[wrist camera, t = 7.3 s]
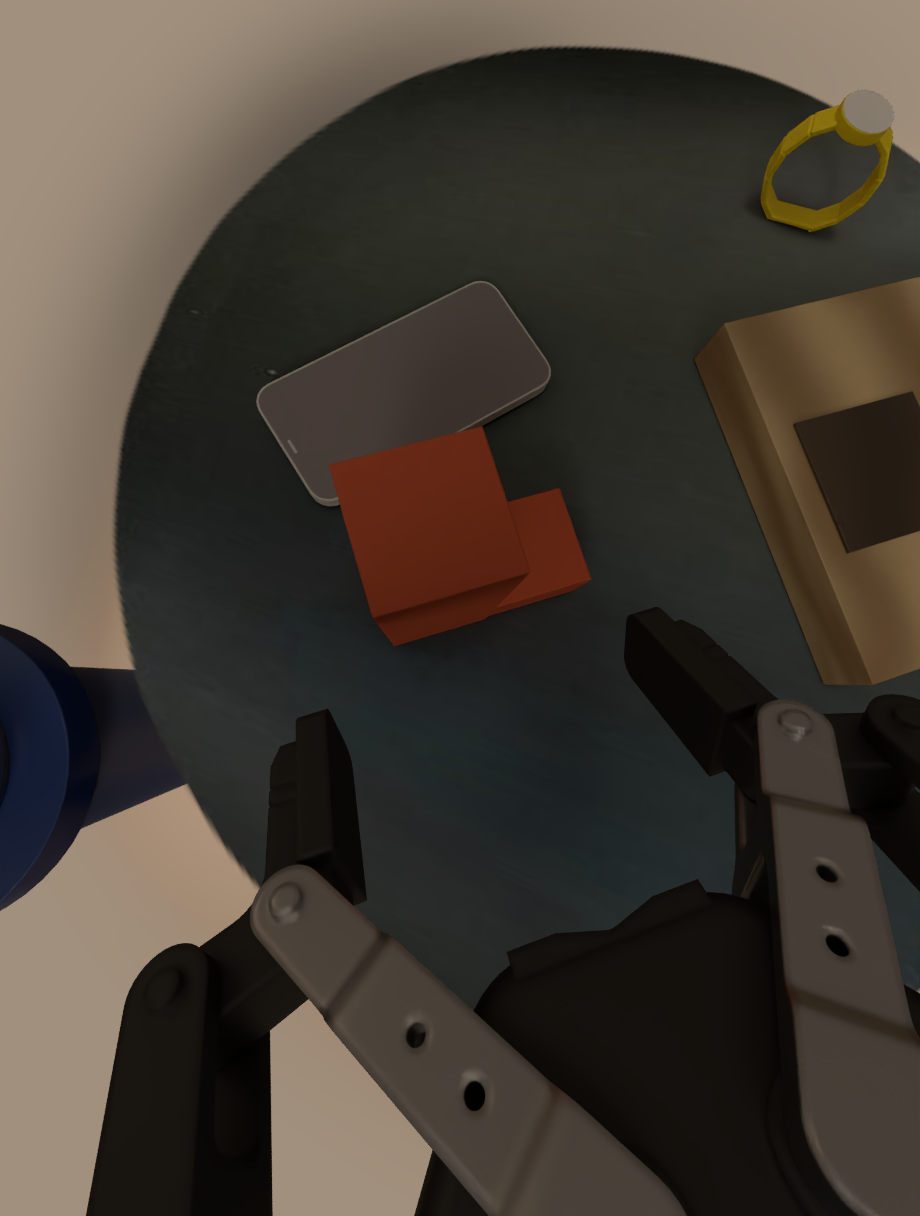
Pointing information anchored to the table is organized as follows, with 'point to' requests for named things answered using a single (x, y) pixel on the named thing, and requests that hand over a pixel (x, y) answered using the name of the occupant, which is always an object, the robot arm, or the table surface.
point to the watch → (856, 123)
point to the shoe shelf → (833, 466)
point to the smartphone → (405, 384)
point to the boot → (451, 536)
